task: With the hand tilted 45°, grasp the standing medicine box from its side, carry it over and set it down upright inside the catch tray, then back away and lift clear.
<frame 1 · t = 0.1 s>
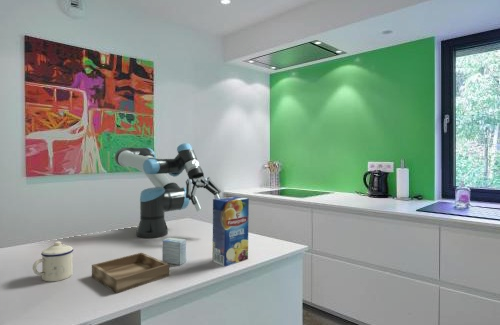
hand: (210, 208, 150), 15 cm above the counter, tool tilted 35°, fingers open, 13 cm apart
medicine box: (174, 262, 120), on the counter
juice carton: (230, 260, 123), on the counter
teacup with lid: (53, 278, 104), on the counter
catch tray: (130, 276, 106), on the counter
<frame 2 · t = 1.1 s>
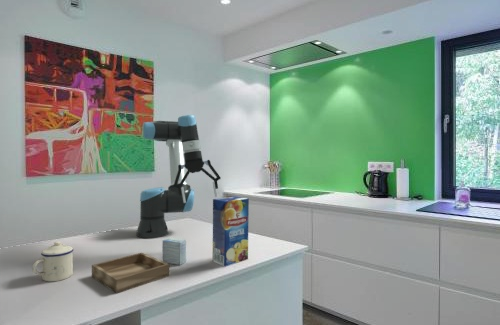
hand: (200, 199, 137), 21 cm above the counter, tool pointing down, fingers open, 13 cm apart
nothing on the counter moved.
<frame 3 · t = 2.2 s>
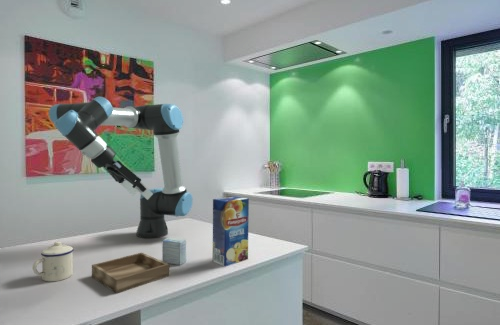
hand: (142, 194, 115), 26 cm above the counter, tool tilted 45°, fingers open, 13 cm apart
nothing on the counter moved.
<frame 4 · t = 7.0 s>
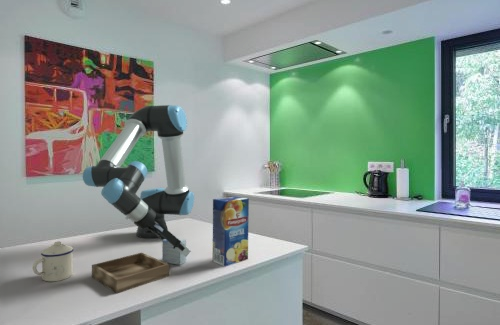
hand: (182, 250, 122), 4 cm above the counter, tool tilted 45°, fingers closed on medicine box, 9 cm apart
medicine box: (174, 262, 120), on the counter, touching gripper
everything else where it was.
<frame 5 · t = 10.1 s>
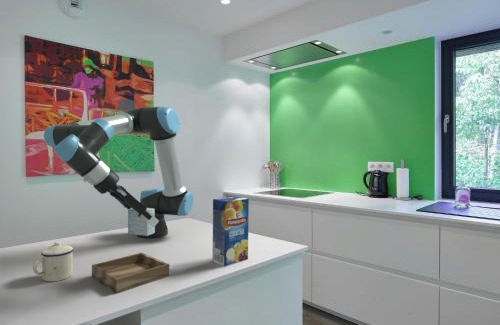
hand: (150, 221, 110), 18 cm above the counter, tool tilted 45°, fingers closed on medicine box, 9 cm apart
medicine box: (141, 234, 108), point 14 cm above the counter, touching gripper
everything else where it was.
when the fingers open (6 cm above the counter, at t = 13.6 s): medicine box stays where it is, resting on catch tray.
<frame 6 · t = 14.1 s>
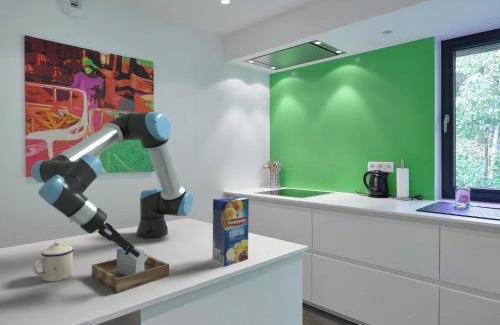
hand: (137, 255, 107), 7 cm above the counter, tool tilted 45°, fingers open, 13 cm apart
medicine box: (130, 274, 106), point 1 cm above the counter, touching catch tray
everything else where it was.
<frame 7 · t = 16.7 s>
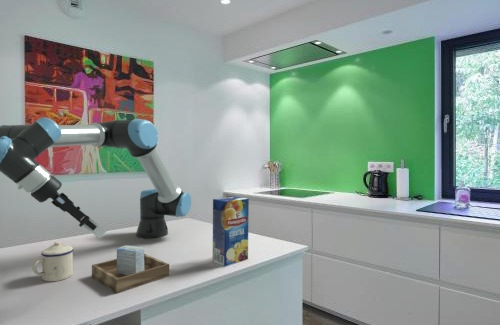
hand: (97, 230, 99), 17 cm above the counter, tool tilted 45°, fingers open, 13 cm apart
nothing on the counter moved.
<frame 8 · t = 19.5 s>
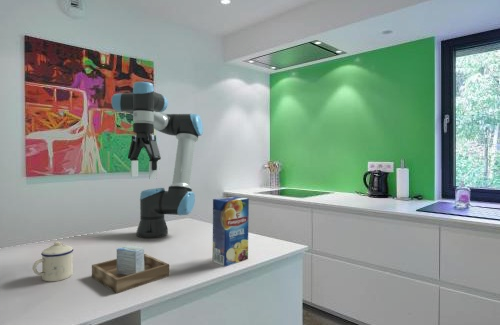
hand: (143, 177, 122), 32 cm above the counter, tool pointing down, fingers open, 13 cm apart
nothing on the counter moved.
at the end: medicine box inside the target area on the catch tray (0.0 cm from its centre), point 0.8 cm above the catch tray's base; medicine box tilted 0°; the gripper is holding nothing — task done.
